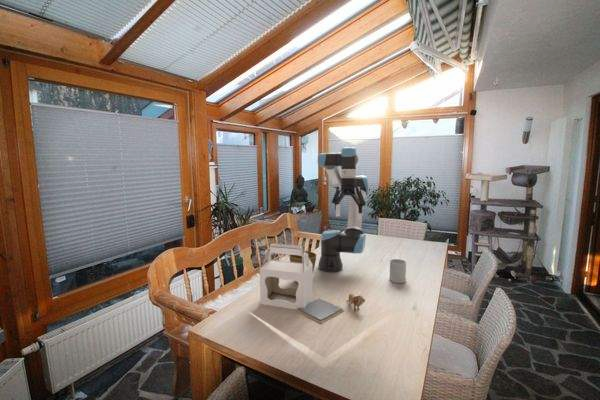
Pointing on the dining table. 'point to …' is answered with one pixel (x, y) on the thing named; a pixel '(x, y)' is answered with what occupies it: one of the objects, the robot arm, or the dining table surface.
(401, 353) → the dining table surface
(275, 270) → the gable box
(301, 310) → the pad
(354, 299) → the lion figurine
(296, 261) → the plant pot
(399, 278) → the mug
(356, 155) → the robot arm
